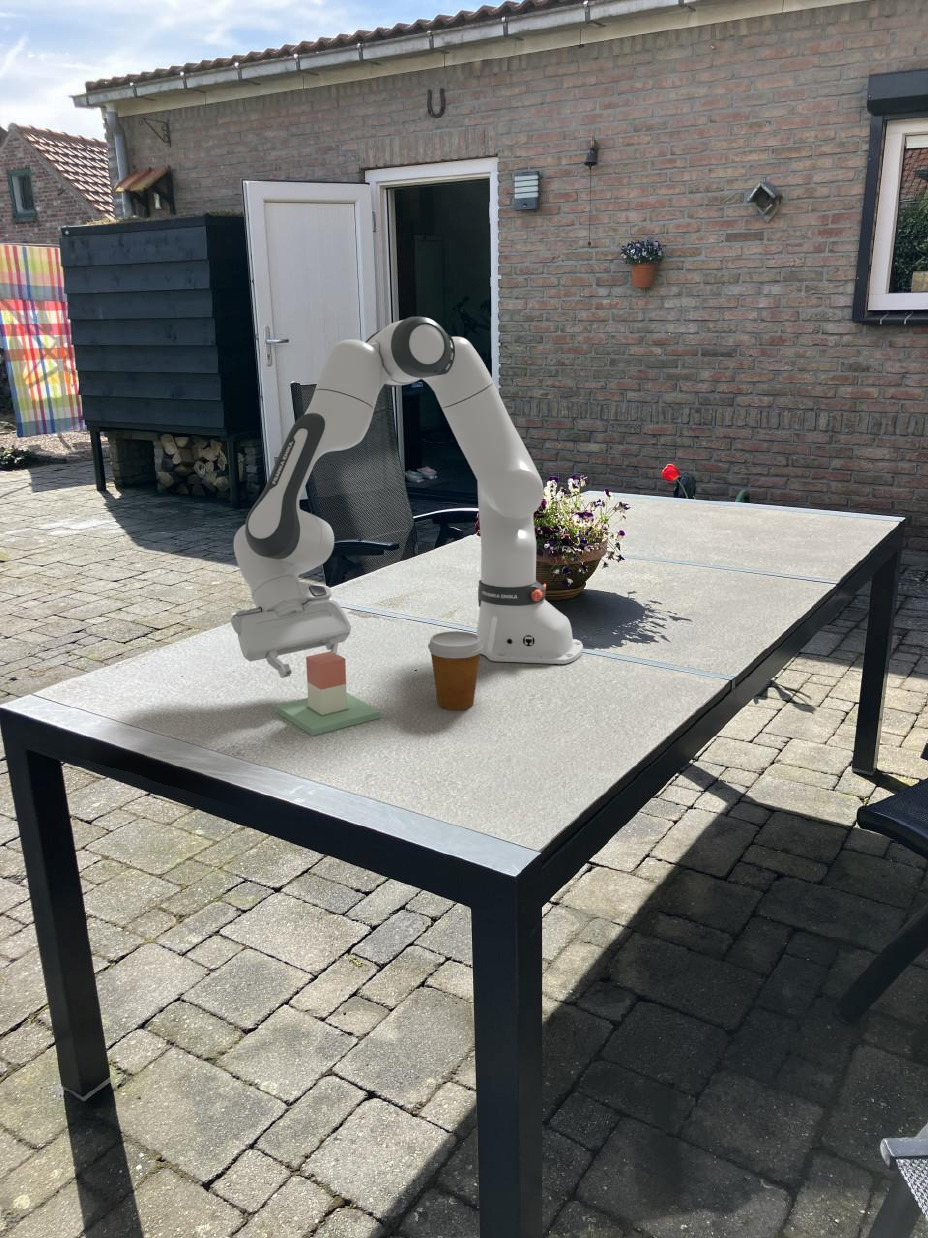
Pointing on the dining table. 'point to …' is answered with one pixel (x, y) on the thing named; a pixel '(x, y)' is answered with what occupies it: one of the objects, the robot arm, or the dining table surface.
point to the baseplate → (327, 715)
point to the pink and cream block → (326, 682)
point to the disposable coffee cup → (455, 667)
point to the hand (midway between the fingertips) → (311, 670)
